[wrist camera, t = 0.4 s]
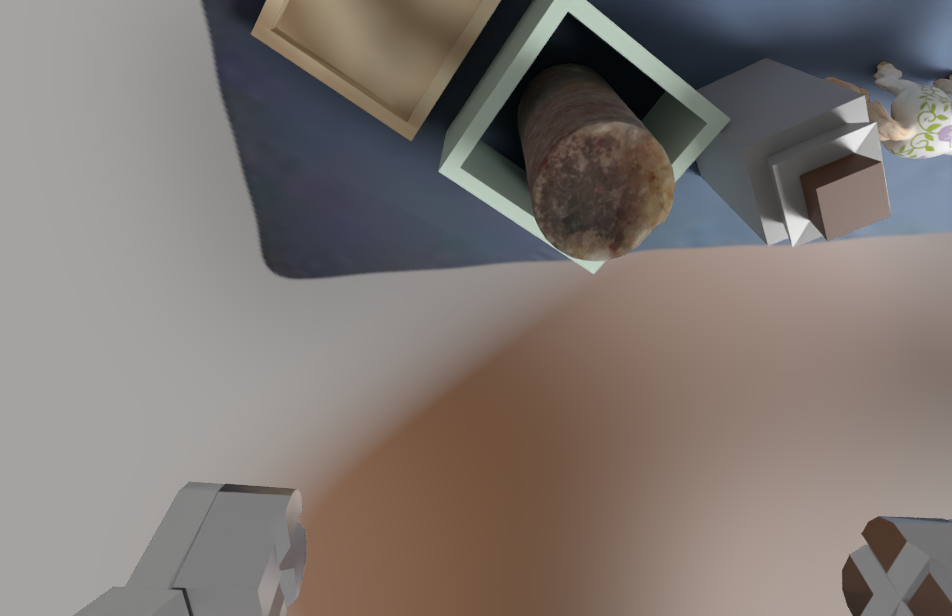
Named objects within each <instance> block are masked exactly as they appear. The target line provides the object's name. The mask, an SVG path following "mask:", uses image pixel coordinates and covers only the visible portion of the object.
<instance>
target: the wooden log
mask: <svg viewBox="0 0 952 616" xmlns="http://www.w3.org/2000/svg"><path fill="white" fill-rule="evenodd" d="M518 128H519V135H520V140H521V144H522V149H523V155H524V160H525V165H526V171H527V178H528V184H529V191H530V197H531V202H532V208H533V213H534V218H535V220H536V223H537V225H538V227H539V229H540V231H541V232H542V234H543V235H544V237H545V239H546V240H547V241H549V242H550V243H551V244H552V245H553V246H554V247H555V248H556V249H557V250H559V251H561V252H563V253H564V254H566V255H568V256H570V257H573V258H575V259H580V260H585V261H606V260H609V259H613V258H617V257H620V256H623V255H626V254H627V253H629V252H630V251H631V250H633V249H635V248H637V247H638V246H639V245H640V244H641V243H642V241H643V240H644V239H645V238H646V237H647V236H648V235H649V233H650V232H651V231H652V230H653V229H654V228H655V227H656V226H657V225H658V224H661V223H663V222H664V221H665V220H666V217H667V216H668V215H669V213H670V210H671V207H672V204H673V193H674V188H675V179H674V173H673V167H672V165H671V163H670V161H669V158H668V156H667V154H666V152H665V150H664V148H663V146H662V145H661V144H660V143H659V142H658V141H657V140H656V139H655V138H654V136H653V135H652V134H651V132H650V131H649V130H648V129H647V128H646V127H645V126H644V125H643V123H642V122H641V121H640V120H639V119H638V118H637V117H636V116H635V114H634V113H633V112H632V111H631V110H630V109H629V108H628V107H627V105H626V104H625V103H624V102H623V101H622V100H621V98H620V97H619V96H618V95H617V93H616V92H615V91H614V90H613V89H612V88H611V86H610V85H609V84H608V83H607V82H606V81H605V79H604V78H602V77H601V76H600V75H599V74H598V73H597V72H595V71H594V70H593V69H591V68H588V67H586V66H584V65H579V64H572V63H567V64H560V65H557V66H553V67H550V68H548V69H546V70H544V71H542V72H541V73H539V74H538V75H537V76H535V77H534V78H533V79H532V81H531V82H530V83H529V84H528V86H527V88H526V89H525V91H524V92H523V95H522V97H521V100H520V103H519V107H518Z"/></svg>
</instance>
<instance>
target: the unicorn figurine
mask: <svg viewBox="0 0 952 616" xmlns="http://www.w3.org/2000/svg"><path fill="white" fill-rule="evenodd" d="M877 70H878V71H877V73H876V74H874V75H873V77H874V78H875V79H876V81H875V85H876V86H877V87H880V88H881V89H882V90H885V91H889V92H891V93H893V94H894V95H895V96H896V98H895V99H894V101H893V102H892V105H891V117H892V118H891V117H890V116H889V114H888V112H887V111H886V109H885V108H884V107H883V106H882V105H881V103H880V102H878V101H874V102H870V93H869V92H868V90H867V89H864V88H858V87H857V86H855V85H853V84H851V83H848V82H844V81H841V80H839V79H837V78H835V77H826V78H825V79H824V80H826V81H829V82H832V83H834V84H837V85H839V86H842V87H845V88H847V89H850V90H853V91H855V92H858V93H861V94H863V95H865V99H866V105H867V111H868V118H869V122H877V128H878V134H879V140H880V141H881V143H882V144H883V146H884V147H885V148H886V149H887V150H888V151H890V152H891V153H893V154H894V155H897V156H900V157H905V158H930V157H935V156H938V155H941V154H947V155H952V98H949V97H948V96H947V95H952V74H951V75H950V76H949V80H948V79H939V80H936V81H934V82H933V85H934V86H935V87H931V86H923V85H918V84H916V83H914V82H911V81H908V80H902V79H901V80H899V79H900V78H901V77H902V72H901V71H900V70H897V69H896V68H895V67H894V66H893V65H892V64H890V63H887V62H881V63H880V64H879V65H878V67H877ZM936 87H937V88H936ZM946 94H947V95H946Z"/></svg>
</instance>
